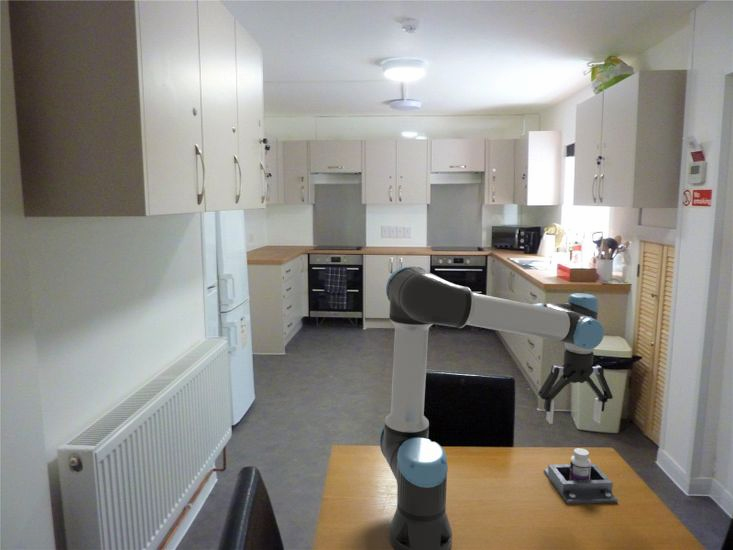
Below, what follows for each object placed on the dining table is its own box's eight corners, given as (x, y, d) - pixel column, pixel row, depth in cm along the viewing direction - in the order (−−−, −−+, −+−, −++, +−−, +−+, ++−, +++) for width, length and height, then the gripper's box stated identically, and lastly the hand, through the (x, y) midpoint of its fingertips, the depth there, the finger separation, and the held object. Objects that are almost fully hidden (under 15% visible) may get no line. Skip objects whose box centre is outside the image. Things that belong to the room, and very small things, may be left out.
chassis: (617, 502, 136) (618, 489, 136) (567, 503, 136) (568, 490, 135) (588, 470, 152) (589, 458, 152) (543, 471, 152) (544, 459, 151)
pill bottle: (572, 475, 148) (574, 444, 146) (591, 482, 144) (594, 450, 143) (566, 483, 143) (568, 452, 142) (586, 490, 140) (588, 458, 139)
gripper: (616, 345, 143) (609, 415, 146) (529, 345, 142) (524, 416, 145) (630, 354, 135) (623, 427, 139) (539, 353, 134) (534, 427, 138)
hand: (572, 421), depth 142 cm, fingers open, 13 cm apart
